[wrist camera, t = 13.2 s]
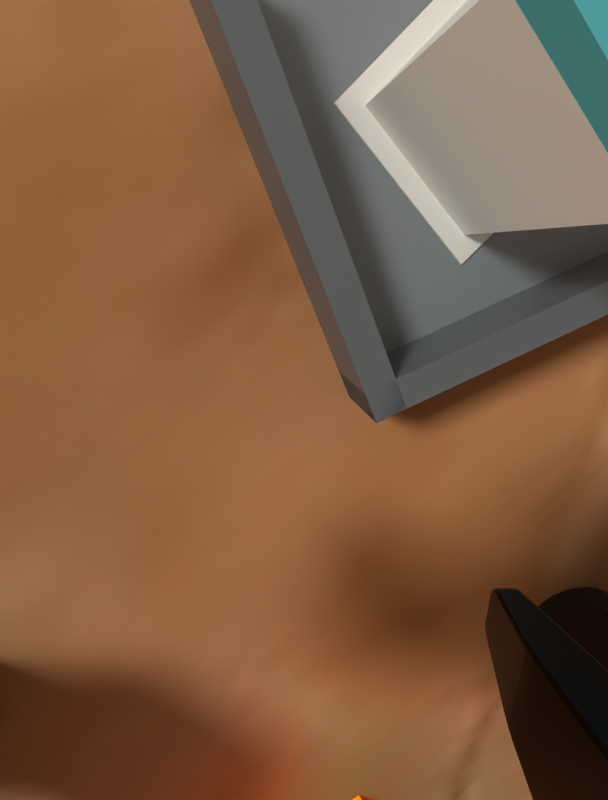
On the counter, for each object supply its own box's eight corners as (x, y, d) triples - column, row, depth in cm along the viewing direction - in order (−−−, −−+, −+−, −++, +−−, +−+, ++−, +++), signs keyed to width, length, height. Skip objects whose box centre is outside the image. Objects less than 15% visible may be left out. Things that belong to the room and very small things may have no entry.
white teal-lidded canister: (463, 234, 20) (695, 217, 11) (365, 105, 18) (541, -57, 9) (580, 119, 20) (927, -6, 10) (491, -26, 18) (818, -342, 8)
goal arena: (349, 397, 22) (376, 422, 18) (185, -11, 17) (180, -77, 13) (663, 251, 22) (743, 251, 19) (594, -175, 18) (684, -275, 14)
